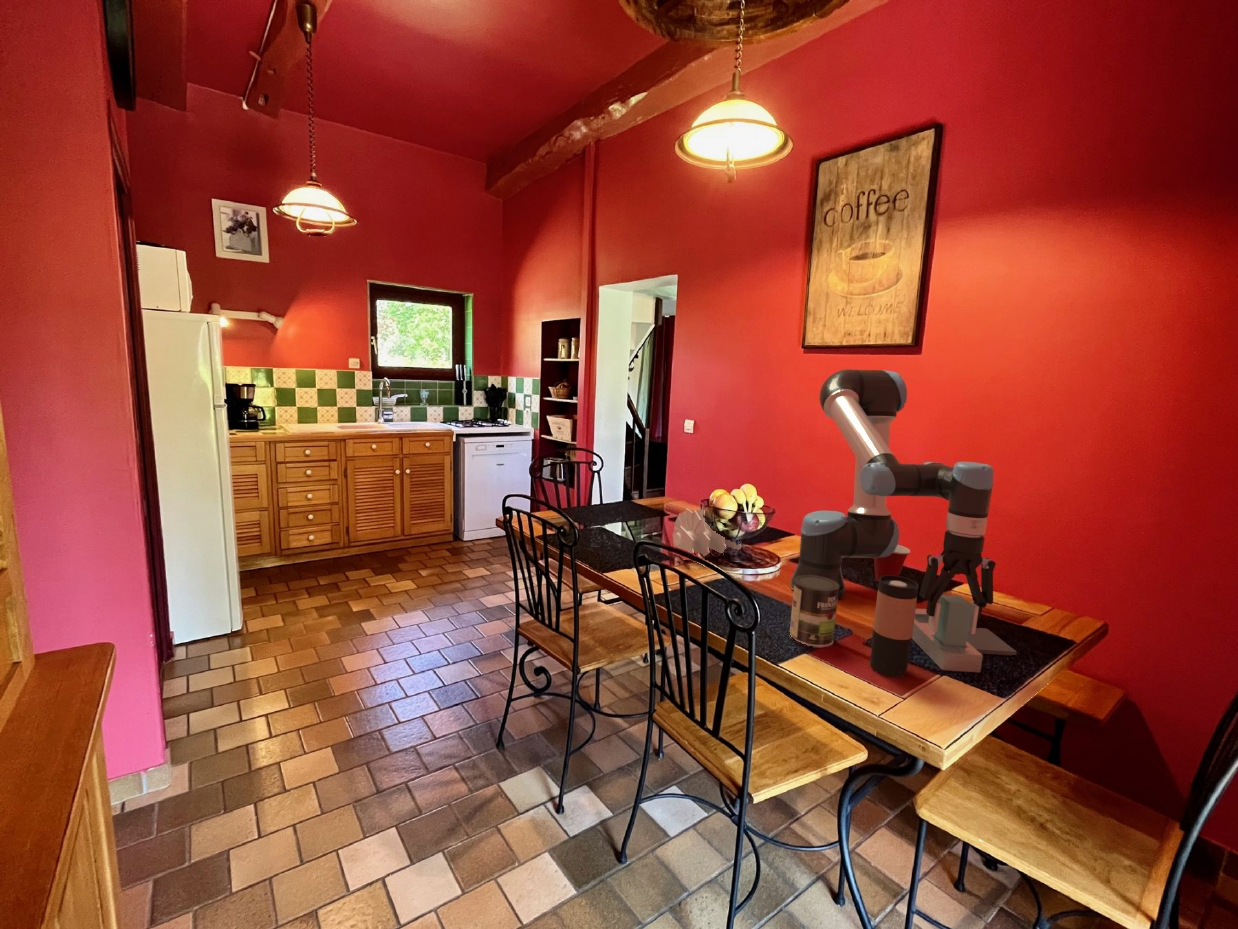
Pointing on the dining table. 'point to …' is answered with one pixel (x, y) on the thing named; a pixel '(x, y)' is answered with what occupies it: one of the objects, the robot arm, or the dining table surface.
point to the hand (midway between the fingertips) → (951, 630)
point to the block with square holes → (944, 648)
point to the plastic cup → (891, 563)
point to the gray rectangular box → (953, 621)
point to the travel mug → (893, 625)
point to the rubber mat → (988, 643)
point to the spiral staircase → (698, 534)
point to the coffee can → (814, 610)
